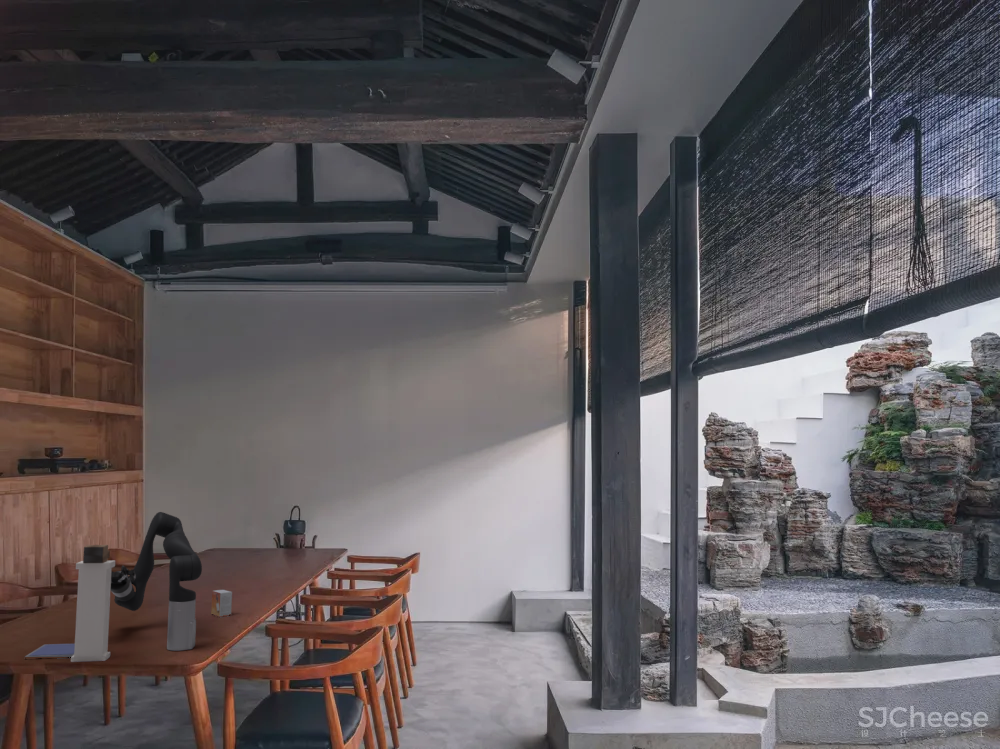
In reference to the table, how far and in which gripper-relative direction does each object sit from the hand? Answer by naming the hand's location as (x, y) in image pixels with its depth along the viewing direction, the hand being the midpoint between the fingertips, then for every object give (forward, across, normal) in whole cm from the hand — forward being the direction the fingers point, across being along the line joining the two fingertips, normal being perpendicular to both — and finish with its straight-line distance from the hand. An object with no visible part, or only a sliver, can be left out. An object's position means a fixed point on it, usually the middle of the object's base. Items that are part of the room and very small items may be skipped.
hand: (110, 568), depth 307 cm
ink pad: (-8, -14, +28) cm, 32 cm away
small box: (-62, +32, -2) cm, 69 cm away
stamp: (+15, 0, +3) cm, 15 cm away
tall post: (+2, 0, +34) cm, 34 cm away
